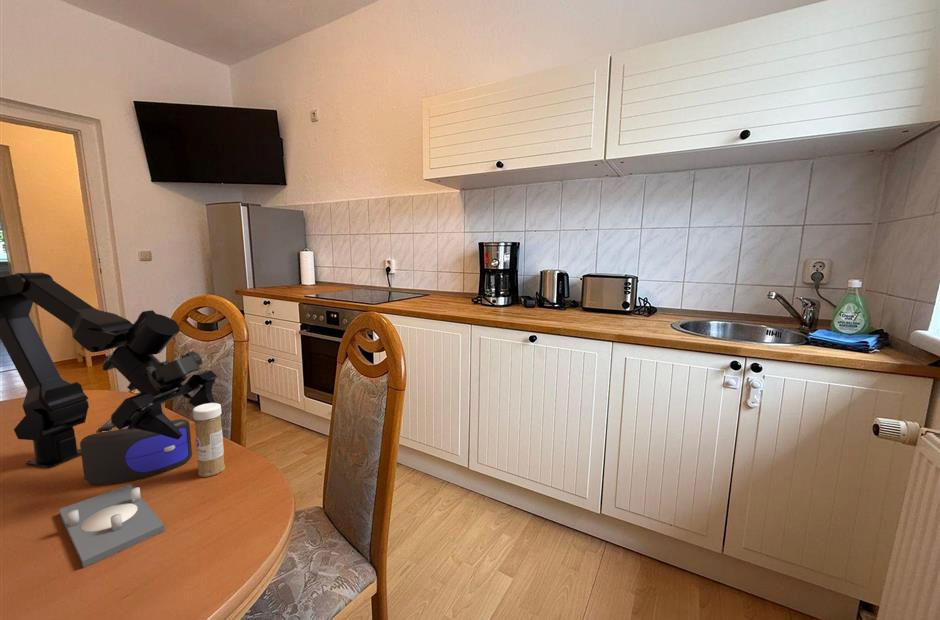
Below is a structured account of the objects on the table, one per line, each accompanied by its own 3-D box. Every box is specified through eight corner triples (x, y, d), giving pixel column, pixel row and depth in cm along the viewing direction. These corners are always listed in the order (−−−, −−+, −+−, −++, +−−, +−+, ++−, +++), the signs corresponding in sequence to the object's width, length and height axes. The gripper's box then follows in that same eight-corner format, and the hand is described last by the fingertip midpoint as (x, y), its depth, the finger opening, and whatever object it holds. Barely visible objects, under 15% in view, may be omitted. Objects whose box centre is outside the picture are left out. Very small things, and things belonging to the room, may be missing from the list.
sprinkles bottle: (192, 474, 75) (186, 408, 73) (215, 463, 79) (210, 400, 77) (208, 479, 73) (202, 412, 71) (231, 468, 77) (226, 404, 76)
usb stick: (114, 419, 101) (114, 413, 100) (127, 417, 102) (126, 412, 102) (97, 434, 92) (96, 428, 92) (111, 432, 93) (110, 426, 93)
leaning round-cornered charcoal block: (79, 494, 68) (73, 444, 67) (86, 482, 72) (80, 434, 71) (191, 468, 77) (188, 423, 76) (192, 458, 81) (189, 415, 80)
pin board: (59, 514, 63) (57, 497, 62) (131, 489, 70) (129, 473, 70) (83, 567, 52) (80, 547, 52) (164, 530, 60) (162, 513, 59)
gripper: (117, 354, 64) (183, 420, 65) (205, 333, 83) (257, 384, 83) (82, 397, 66) (146, 461, 66) (176, 367, 85) (226, 417, 85)
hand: (200, 426), depth 75 cm, fingers open, 9 cm apart
